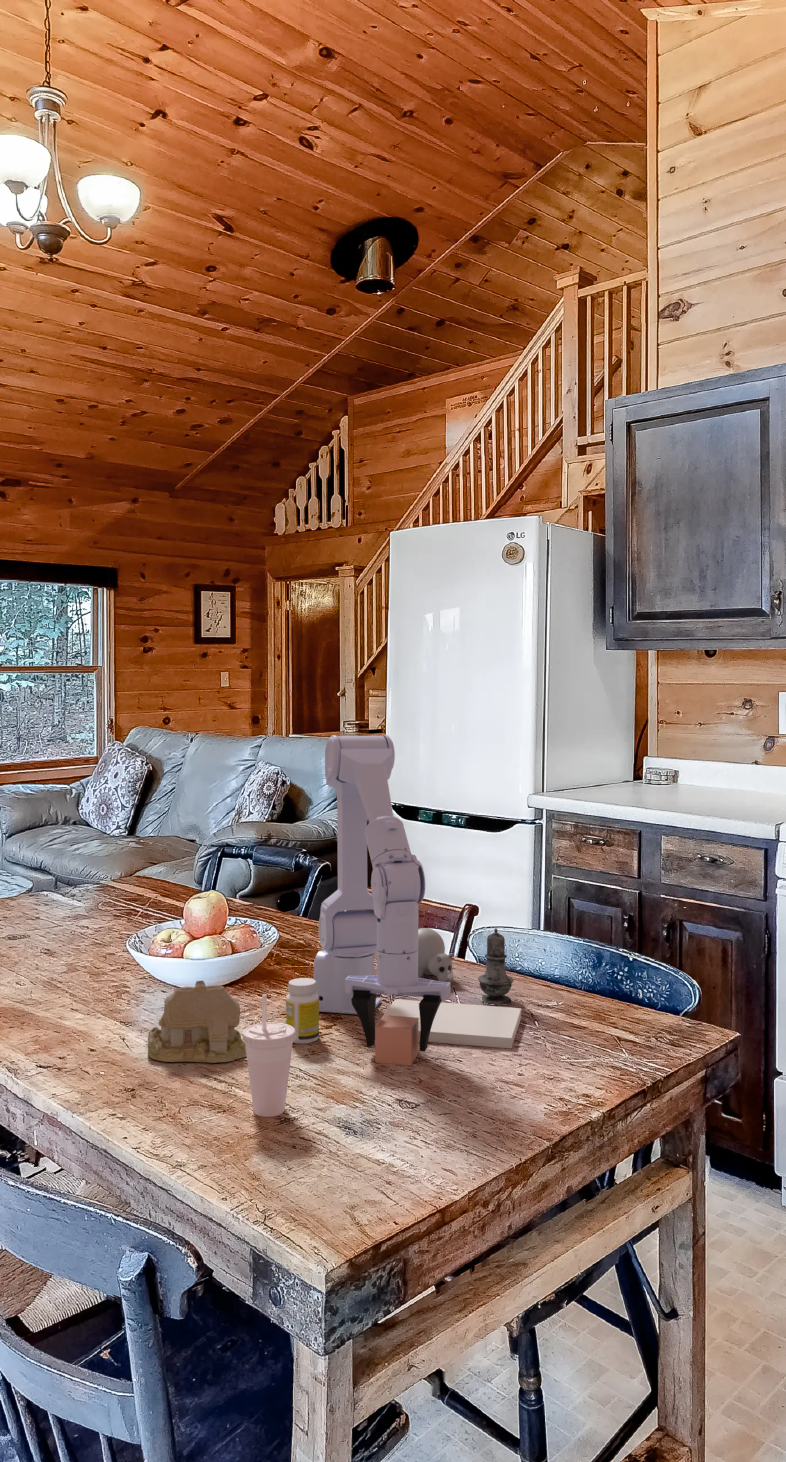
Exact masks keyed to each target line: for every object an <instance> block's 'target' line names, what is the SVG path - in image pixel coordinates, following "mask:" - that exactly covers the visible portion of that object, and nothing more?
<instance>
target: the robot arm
mask: <svg viewBox="0 0 786 1462" xmlns="http://www.w3.org/2000/svg"><path fill="white" fill-rule="evenodd" d="M325 745H326V746H325V750H324V778H325V782H326V783H325V784H326V785H327V786H329V787H330V788H333V789H335V794H336V803H337V805H336V806H337V807H336V808H337V809H336V811H337V812H336V813H337V814H336V815H337V817H336V818H337V819H336V820H337V826H336V827H337V828H336V829H337V890H335V891H334V892H333V893H331V894H330V895H329V896H328V897H327V898H325V899H324V900H323V901H322V902H321V906H320V914H319V920H318V938H319V939H318V940H319V944H320V946H321V948H322V950H319V951H317V953H316V955H315V958H314V964H313V978H312V979H314V980H315V981H316V992H315V993H317V994H318V996H319V1013H320V1012H322V1013H334V1014H348V1015H357V1016H358V1019H359V1021H360V1024H361V1028H362V1030H363V1034H364V1039H365V1043H366V1047H368V1048H372V1047H373V1046H374V1044H375V1026H376V1008H377V1007H378V1006H379V1004H380V1003H381V1002H382V998H381V997H377V995H388V996H389V995H393V996H402V997H403V996H404V997H405V996H406V997H407V996H408V997H419V998H422V999H421V1000H419V1001H420V1003H419V1011H420V1027H421V1030H420V1041H419V1052H423V1053H424V1052H426V1051H427V1049H428V1046H429V1042H428V1040H429V1034H430V1030H431V1027H432V1023H433V1020H434V1018H435V1015H436V1013H437V1010H438V1008H439V1006H440V1003H441V1002H442V1001H448V1000H449V999H450V998H451V983H450V982H441V981H439V980H433V979H429V978H428V979H427V978H424V977H421V978H418V929H419V903H422V902H423V901H424V899H425V894H426V877H425V871H424V868H423V867H424V866H423V865H422V863H421V861H419V859H418V858H417V856H416V855H415V854H412V852H411V851H412V850H411V848H410V844H409V841H408V838H407V834H406V830H405V826H404V823H403V821H402V819H400V818H398V817H396V816H394V813H393V807H392V805H393V804H392V800H391V794H390V788H389V780H390V778H391V775H392V770H393V768H394V765H395V759H396V758H395V757H396V754H395V752H396V751H395V746H394V742H393V740H392V739H391V737H390V736H389V735H387V734H383V735H335V734H333V735H331V736H330V737H329V738H328V740H327V741H326V744H325ZM368 821H369V822H368ZM368 853H369V857H370V862H371V866H372V871H371V879H370V886H371V887H370V888H371V893H370V892H369V891H368ZM375 954H376V975H375Z"/></svg>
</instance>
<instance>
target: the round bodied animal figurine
mask: <svg viewBox="0 0 786 1462" xmlns="http://www.w3.org/2000/svg"><path fill="white" fill-rule="evenodd" d="M445 945H446V944H445V942H444V939H443V938H442V936H441V934H439V932H437V931H436V930H434V929H432V928H429V927H420V928H418V978H423V976H424V975H426V976H428V975H434V977H435V976H436V977H437V981H441V982H450V984H451V983H452V982H453V981H454V977H455V976H454V971H453V957H454V953H453V952H451V953H448V954H447V953H445V951H446V946H445Z"/></svg>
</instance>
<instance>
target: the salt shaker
mask: <svg viewBox="0 0 786 1462" xmlns="http://www.w3.org/2000/svg"><path fill="white" fill-rule="evenodd" d="M493 931H494V932H493V933H491V934H489V935H488V936H487V938H486V940H487V941H486V954H484V958H486V968H485V973H484V974H481V975H480V976H478V977H477V981H478V982H479V987H480V990H481V991H482V992H483V993H484V995H482V996H481V997H482V1000H483V1001H482V1002H485V1003H488V1004H494V1005H493V1006H496V1005H499V1006H504V1005H503V1004H507V1005H510V1004H512V1002H511V1001H512V998H511V997H509V996H508V995H507V994H508V993H509V992H510V990H511V989H512V986H513V985H512V984H513V982H514V981H515V980H514V978H513V977H511V976H509V975H508V974H507V972H506V958H507V957H508V955H506V954H505V951H506V950H505V948H506V947H505V945H506V944H505V943H506V941H505V937H504V936H503V934H501V933H499V932H498V931H499V930H498V928H497V927H496V928H494V930H493ZM509 1003H510V1004H509Z"/></svg>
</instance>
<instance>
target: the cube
mask: <svg viewBox="0 0 786 1462" xmlns="http://www.w3.org/2000/svg"><path fill="white" fill-rule="evenodd" d="M383 1015H384V1014H383ZM383 1015H382V1016H383ZM380 1019H381V1020H380ZM380 1019H379V1020H380V1021H379V1020H378V1022H377V1023H376V1024H377V1025H376V1024H375V1043H374V1044H375V1045H374V1046H375V1047H374V1051H375V1052H374V1055H375V1056H374V1062H375V1063H379V1064H392V1065H393V1064H394V1065H403V1066H412V1064H413V1063H414V1061H415V1059H416V1057H417V1056H418V1054H419V1052H420V1041H419V1018H415V1017H402V1016H389V1015H384V1016H383V1017H381V1018H380Z"/></svg>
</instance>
